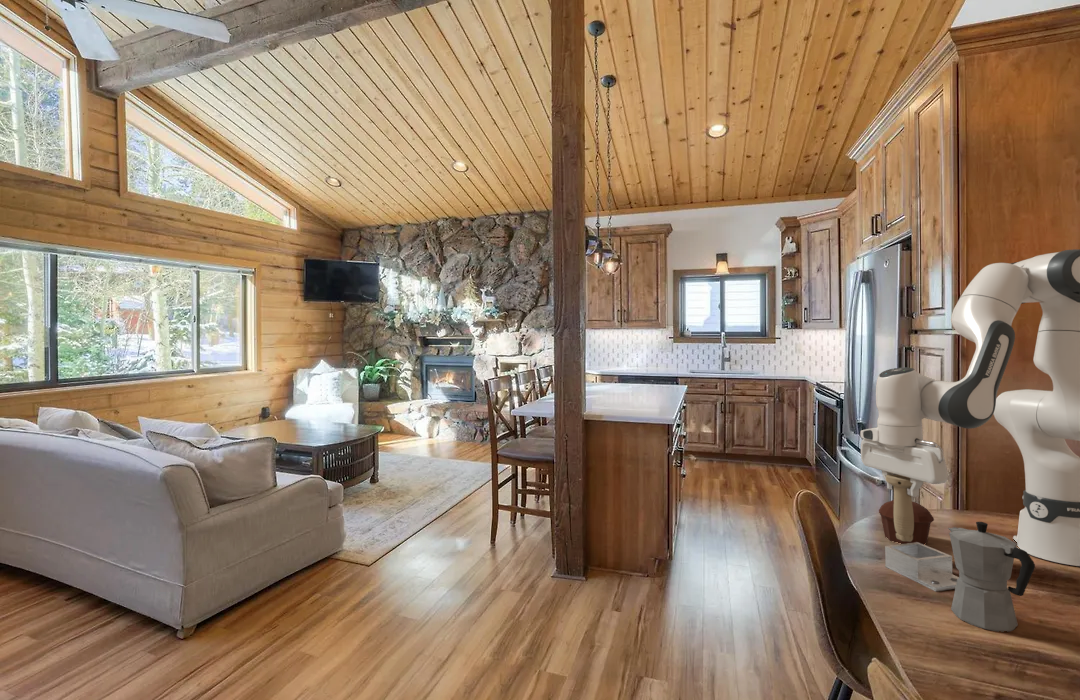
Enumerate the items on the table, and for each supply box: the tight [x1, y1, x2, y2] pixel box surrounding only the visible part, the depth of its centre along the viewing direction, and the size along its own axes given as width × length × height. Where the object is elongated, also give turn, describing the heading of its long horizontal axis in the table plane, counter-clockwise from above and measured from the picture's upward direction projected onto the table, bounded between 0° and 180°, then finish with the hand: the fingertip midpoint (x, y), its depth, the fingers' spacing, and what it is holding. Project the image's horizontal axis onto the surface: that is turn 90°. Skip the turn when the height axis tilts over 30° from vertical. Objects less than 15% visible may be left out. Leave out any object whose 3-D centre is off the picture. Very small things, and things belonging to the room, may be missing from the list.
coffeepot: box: [947, 521, 1036, 633], centre depth 92 cm, size 15×9×18 cm, turn 6°
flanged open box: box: [884, 542, 959, 592], centre depth 110 cm, size 9×12×5 cm
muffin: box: [878, 499, 935, 545], centre depth 130 cm, size 12×11×10 cm
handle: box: [885, 474, 914, 542], centre depth 121 cm, size 5×6×15 cm
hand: (902, 493), depth 121 cm, fingers closed on handle, 4 cm apart
